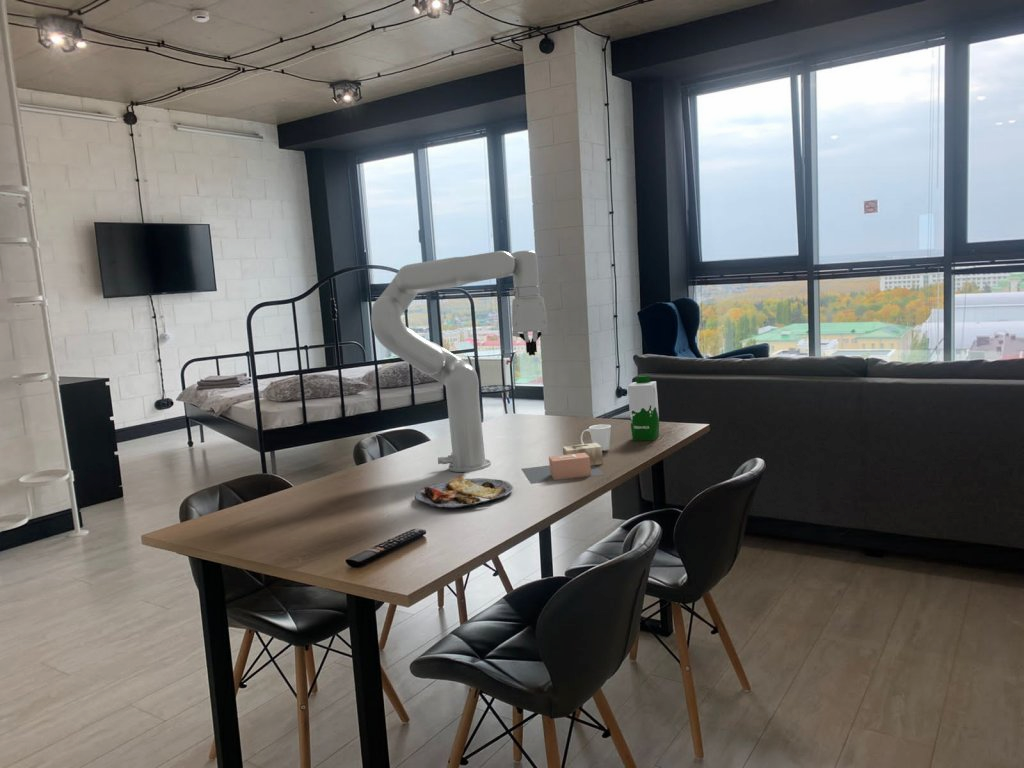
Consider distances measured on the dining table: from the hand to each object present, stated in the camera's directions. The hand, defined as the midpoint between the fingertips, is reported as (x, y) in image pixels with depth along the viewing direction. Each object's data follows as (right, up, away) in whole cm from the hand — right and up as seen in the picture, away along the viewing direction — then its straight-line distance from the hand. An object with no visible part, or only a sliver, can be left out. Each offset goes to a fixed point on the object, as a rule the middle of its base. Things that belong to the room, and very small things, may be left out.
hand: (531, 354), depth 229 cm
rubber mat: (+8, -33, -16) cm, 38 cm away
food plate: (-18, -38, -32) cm, 53 cm away
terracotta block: (+5, -31, -22) cm, 39 cm away
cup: (+20, -30, +5) cm, 36 cm away
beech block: (+9, -29, -10) cm, 33 cm away
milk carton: (+37, -26, +19) cm, 50 cm away
